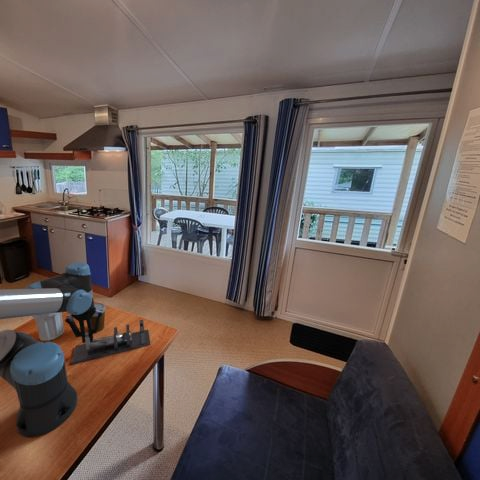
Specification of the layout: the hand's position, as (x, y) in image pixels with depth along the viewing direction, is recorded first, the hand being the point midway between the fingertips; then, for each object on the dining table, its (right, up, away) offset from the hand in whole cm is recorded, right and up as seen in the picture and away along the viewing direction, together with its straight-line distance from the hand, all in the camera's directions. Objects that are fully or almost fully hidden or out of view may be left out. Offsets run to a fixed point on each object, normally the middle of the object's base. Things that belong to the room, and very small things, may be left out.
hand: (88, 347), depth 97 cm
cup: (-23, +2, +8) cm, 25 cm away
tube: (+8, -1, +4) cm, 9 cm away
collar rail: (+8, -2, +5) cm, 10 cm away
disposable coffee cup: (-6, +2, +15) cm, 16 cm away
